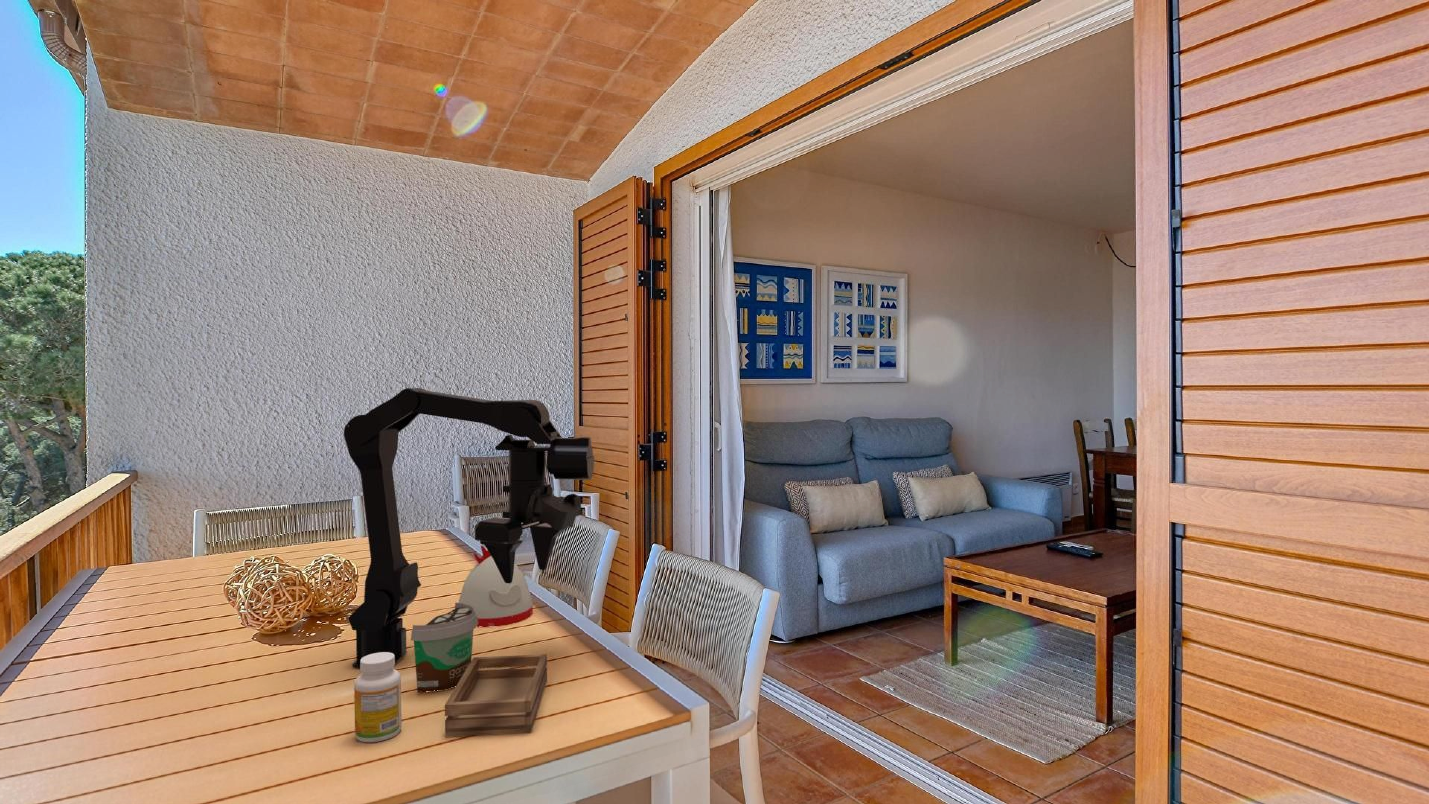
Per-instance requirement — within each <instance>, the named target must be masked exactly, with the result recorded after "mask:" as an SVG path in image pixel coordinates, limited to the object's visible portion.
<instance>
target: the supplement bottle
mask: <svg viewBox="0 0 1429 804" xmlns="http://www.w3.org/2000/svg"><path fill="white" fill-rule="evenodd" d="M395 666H396V665H395V655H394V654H393V653H389V652H380V653H374V654H370V655H367V656H365V657H363V658H362V659H361V660H360V667H359V668H360V669H359V670H360V673H361V674H359V675H358V676H357V677H356V679H355V681H354V687H353V689H354V690H353V691H354V692H353V693H354V694H353V695H354V700H353V701H354V735H355V738H356V740H357V741H359V742H362V743H378V742H382V741H386V740H389V739H391V738H393V737H396V735H398V734H399V733H400V732H401V730H402V725H403V724H402V719H403V718H402V679H401V674H400V672H399V671H398V670H396V669H394V668H395Z"/></svg>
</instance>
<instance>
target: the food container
mask: <svg viewBox="0 0 1429 804" xmlns="http://www.w3.org/2000/svg"><path fill="white" fill-rule="evenodd" d="M477 625H478V619H477V615H476V612H475V611H474V608H473V607H472V606H470V605H468V604H463V603H458V602H455V603H454V609H452V610H451V611H449V612H447V613H444V614H441V615H436V616H435V617H433V618H432V619H431V620H430V621H428V622H427V623H425V624H422V625H421V624H419V625H417V624H413V625H412V630H411V633H410V641H411V642H413V650H414V661H415V662H414V663H415V673H416V674H415V675H416V686H417V693H427V692H426V691H434V690H435V691H437V690H442V691H446V690H445V689H448V690H450V689H449V688H451V687H454V688H455V686H457V684H458V682H459V681H460V679H461V677H462V676H463V674H464V673H465V671H466V669H467V668H468V666H469V664H470V663H471V661H472V659H473V658H472V655H473V642H474V640H473V639H474V629H475V628H477V627H476V626H477ZM451 689H452V688H451ZM420 691H421V692H420ZM437 692H438V691H437Z"/></svg>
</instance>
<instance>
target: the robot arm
mask: <svg viewBox="0 0 1429 804" xmlns="http://www.w3.org/2000/svg"><path fill="white" fill-rule="evenodd" d="M421 414H422V415H427V416H428V415H429V416H432V417H434V416H435V417H440V418H447V419H453V420H460V421H464V422H465V421H466V422H470V423H471V422H473V423H477V424H478V423H479V424H484V425H487V426H489V427H491V428H494V429H496V430H498V431H501V432H503V433H505V434H506V433H507V435H505V436H504V438H503V439H502V441H500V442H499V443H498V444H497V445H495V450H496V451H508V484H505V485H502V492H503V493H508V497H507V498H508V502H507V503H508V505H507V509H508V510H503V511H502V517H500V518H499V517H490V518H487V519H484V520H483V519H482V520H479V521H478V522H477V524H476V525H475V526H474V540H475V541H479V543H480V544H481V545H483V546H484V547H485V549H486V550H488V551H489V553H490V555H491V556H492V558H493V560H494V562H495V564H496V566H497V568H498V570H499V572H500V574H501V576H502V578H503V580H504V582H505V583H509V584H510V583H512V579H513V573H514V563H515V560H516V551H517V549H518V548H519V547H520V546H521V544H522V543H523V542H524V540H522V539H521V537H522V535H523V531H524V530H526V529H529V530H530V533H531V535H530V536H531V538H532V544H533V549H534V553H535V559H536V563H537V567H538V569H539V570H540V571H541V570H542V571H545V570H546V569H547V567H548V564H549V561H550V558H551V554H552V552H553V549H554V547H555V546H554V545H555V543H556V541H557V538H558V536H559V535H560V534H562V533H563V532H564V531H565V530H567V529H568V528H572V527H574V524H575V522H576V518H577V517H579V516H581V515H582V510H581V509H582V503H581V496H580V495H578V494H576V493H569V494H567V495H566V496H565V497H563V496H556V495H554V494H553V487H552V485H551V484H549V483H546V471H547V472H548V473H549V475H552V476H553V479H555V480H572V481H573V480H580V481H583V480H584V481H591V480H592V478H593V474H594V470H595V469H594V468H595V456H594V454H593V446H592V437H590V436H581V437H563V436H562V435H561V433H559V431H558V430H557V428H556V427H555V425H554V424H553V423H552V422H551V420H550V412H549V410H548V408H547V407H546V405H545V404H544V403H543V402H542V401H539V400H536V399H518V400H517V399H516V400H515V399H514V400H513V399H511V400H489V399H483V398H477V397H471V396H465V395H457V394H451V393H443V392H438V391H433V390H432V391H430V390H427V389H425V388H422V387H407V388H404V389H402V390H400V392H399V393H397V394H395V395H394V396H393V397H391V398H390V399H388V400H387V401H384V402H383V403H381V404H379V405H378V406H376V407H374V408H372V409H371V410H369V411H368V412H367V413H365V414H358V415H355V416H353V417H352V418H351V419H349V421H348V422H347V423H346V424H345V425H344V428H343V438H344V442H345V445H346V448H347V451H348V454H349V455H348V456H350V458H351V460H352V461H353V463H354V465H355V466H356V468H357V470H358V471H359V474H360V482H361V491H362V497H363V499H362V500H363V505H364V514H365V515H364V516H365V522H366V530H367V531H366V532H367V539H368V546H369V547H368V548H369V556H370V557H369V558H370V562H369V566H368V570H367V574H366V577H365V581H364V597H363V602H362V603H361V604H360V605H359V606H358V607H357V608H356V609H355V610H354V611H353V612H352V613H351V614H350V615H349V616H348V622H349V625H350V627H351V630H353V631H355V637H356V638H355V640H356V641H355V642H356V643H355V645H356V646H355V647H356V648H355V649H356V651H355V652H356V660H355V661H354V662H352V664H351V665H352V668H360V660H361V659H362V658H363V657H365V656H367V655H370V654H374V653H380V652H389V653H393V654H394V655H395V666H396V665H397V664H398V662H399V661H400V660H401V659H402V658H403V657H404V655H406V653H407V628H406V627H403V625H404V624H403V617H401V616H403V615H405V614H406V613H407V609H408V606H409V605H410V604H412V603H413V601H414V600H415V599H416V598H417V596H418V591H419V590H418V588H420V587H421V586H422V584H421V582H420V580H419V573H418V572H419V564H418V562H411V563H409V562H408V560H407V559H406V557H405V556H404V554H403V553H404V552H403V547H402V539H401V529H400V523H399V522H400V521H399V513H398V506H397V499H396V498H397V497H396V489H395V481H394V472H393V465H394V462H395V459H396V456H397V452H398V448H399V433H400V432H402V431H403V430H404V429H405V428H407V427H408V426H409V425H410V424H411V423H412V422H413V421H414V420H415V419H416V418H417V417H418V416H419V415H421ZM514 436H515V437H518V438H527V439H516V438H514ZM544 445H545V446H544ZM546 445H549V446H546ZM546 469H547V470H546ZM520 539H521V540H520Z"/></svg>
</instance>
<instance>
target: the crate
mask: <svg viewBox="0 0 1429 804" xmlns="http://www.w3.org/2000/svg"><path fill="white" fill-rule="evenodd" d="M547 664H548V654H546V653H545V654H542V653H541V654H522V655H521V654H520V655H500V656H499V655H498V656H493V655H492V656H476V657H475V656H473V658H472V659H471V663H470V664H469V666H468V668H467V669H466V671H465V673H464V674H463V676H462V677H461V679H460V681H459V682H458V684H457V686H456V687H454V689H453V691H452V692H451V694H450V696H449V697H448V698H447V700H446V703H445V704H444V717H446V718H445V720H444V736H445V737H466V736H469V737H470V736H485V735H487V736H488V735H501V734H502V735H503V734H504V735H506V734H519V733H520V734H521V733H522V734H523V733H524V734H525V733H532V731H533V729H534V724H535V721H536V718H537V715H538V712H539V708H540V706H541V702H542V699H543V695H544V692H545V689H546V686H547V682H548V667H547ZM521 667H523V668H521ZM524 667H526V668H524ZM527 667H533V668H527ZM496 668H499V669H496ZM500 668H501V669H500ZM502 668H507V669H502ZM508 668H509V669H508ZM479 669H482V670H479ZM483 669H484V670H483ZM445 737H444V738H445Z"/></svg>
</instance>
